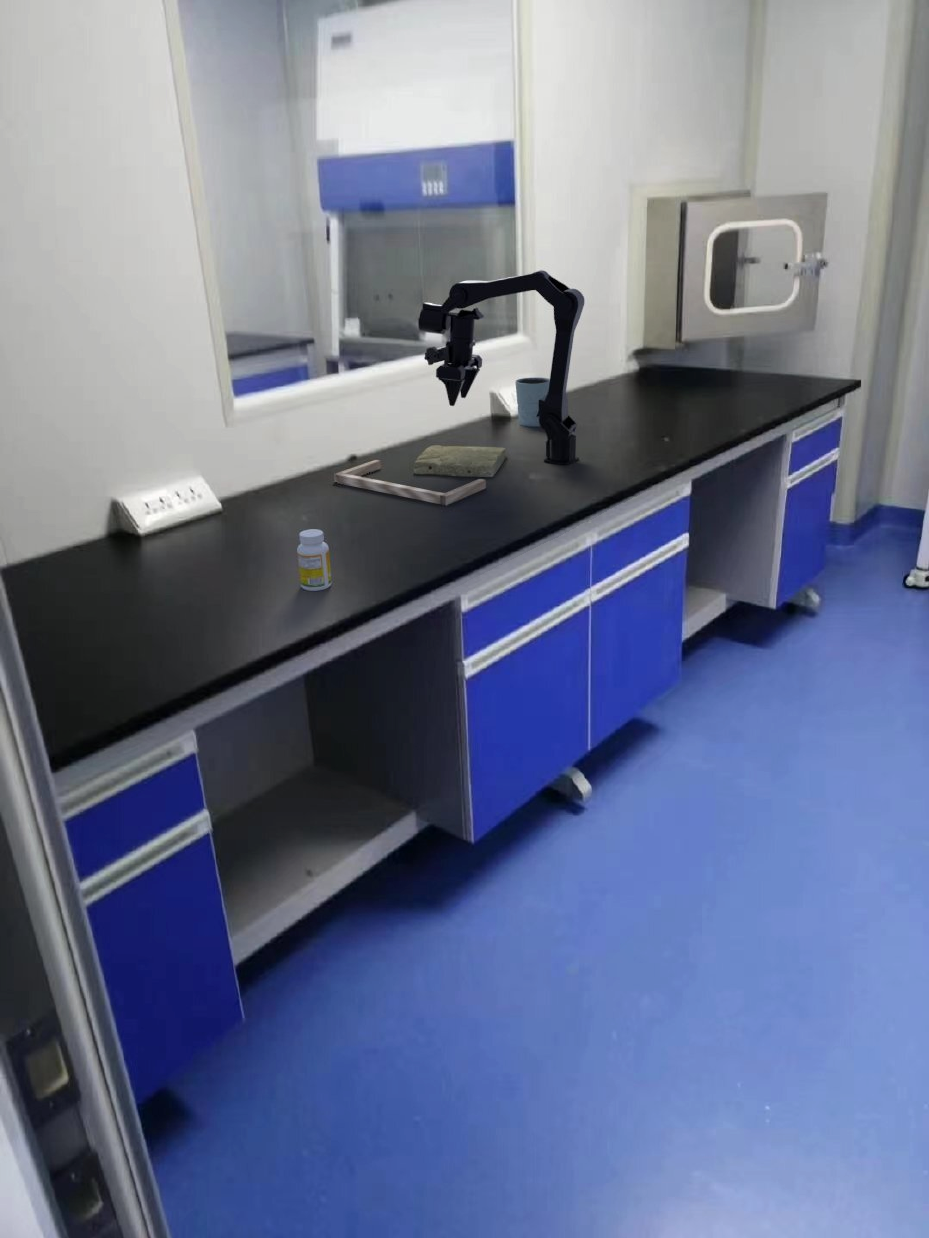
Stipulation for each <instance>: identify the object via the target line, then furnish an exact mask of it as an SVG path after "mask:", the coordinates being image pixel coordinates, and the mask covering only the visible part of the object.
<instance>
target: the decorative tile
mask: <svg viewBox="0 0 929 1238" xmlns="http://www.w3.org/2000/svg"><path fill="white" fill-rule="evenodd" d="M506 450H507V449H506V448H505V447H493V446H461V445H460V446H459V445H457V446H456V445H453V446H452V445H447V446H443V445H438V444H437V445H431V446H428V447H427V448H425V449H424V451H423V452H422V453H421V454H420V455H419V456H418V457H417V458H416V461H414V466H413V474H414V473H415V475H440V476H451V477H470V478H471V477H479V478H480V477H481V478H482V477H483V478H484V477H485V478H486V477H487V478H493V477H494V476H495V474H497V472H498V470H499V469H500V467H501V466H502V464H504V461H505V460H506V458H507V455H506V454H507V451H506Z"/></svg>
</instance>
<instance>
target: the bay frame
mask: <svg viewBox="0 0 929 1238" xmlns="http://www.w3.org/2000/svg"><path fill="white" fill-rule="evenodd" d="M381 464H382V463H381V460H378V459H375V460H371V461H368V462H366V463H362V464H359V465H356V466H354V467H351V468H348V469H344V470H342V471H339V472H336V473H334V474H333V477H334V478H333V479H334V483H335V482H337V483H336V484H340V485H345V486H351V487H355V488H360V489H364V490H365V489H366V490H370V491H374V492H379V493H384V494H389V495H394V496H399V497H404V498H409V499H412V500H413V499H414V500H418V501H424V502H427V503H433V504H438V505H442V506H448V505H450V504H454V503H455V502H458V501H460V500H462V499H464V498H467V497H470V496H472V495H475V494H476V493H478V492H481V491H483V490H485V489H487V488H486V485H487V484H486V483H487V482H486V479H482V478H478V479H476V480H473V481H471V482H468V483H466V484H464V485H461V486H459V487H456V488H455V489H452V490H449V491H446V492H439V491H434V490H429V489H425V488H419V487H414V486H411V485H410V486H409V485H405V484H399V483H395V482H390V481H385V480H384V481H383V480H380V479H373V478H368V477H365V476H364V475H367V473H368V474H370V473H373V472H376V471H379V470H381V469H382V466H381ZM369 472H370V473H369Z"/></svg>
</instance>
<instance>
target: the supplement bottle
mask: <svg viewBox="0 0 929 1238" xmlns="http://www.w3.org/2000/svg"><path fill="white" fill-rule="evenodd" d="M324 539H325V537H324V532H323V531H322V529H321V530H320V529H316V528H315V529H313V528H312V529H306V530H305V529H304V530H303V531H301V532H299V542H300V544H299V545H298V546H297V549H296V552H297V553H296V554H297V562H298V570H299V571H298V572H299V580H300V581H299V582H300V587H301V588H302V589H303V590H305V591H308V592H309V591H310V592H318V591H323V590H327V589H328V588H329V587H330V586H331V585H332V570H331V561H330V560H331V559H330V549H329V548H330V547H329V545H328V543H326V542H325V541H324Z"/></svg>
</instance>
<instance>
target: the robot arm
mask: <svg viewBox="0 0 929 1238" xmlns="http://www.w3.org/2000/svg"><path fill="white" fill-rule="evenodd" d="M530 291H536V292H537V293H538V294H539V295H540V296H541V297H542V298H543V299H544V300H545V301H546V302H547V303H548V304H549V305H551V306H552V307H553V321H554V326H555V338H554V343H553V344H554V346H553V353H552V361H551V368H550V375H549V379H550V382H549V389H548V393H547V395H544V396H543V397H542V398H541V399H539V411H538V414H537V416H536V417H539V424H540V426H539V427H541V429H543V430H544V431H545V434H546V437H547V440H545V458H544V459H543V462H545V463H550V464H558V465H563V466H567V465H569V464H571V463H573V462H575V461H577V460H579V459H580V457H579V456H577V455H576V454H577V452H576V451H577V442H576V441H577V435H574V433H575V432H576V430H577V427H578V423H577V422H576V420H574V419H573V418H572V417H571V415H569V402H568V395H567V387H568V378H569V373H570V366H571V359H572V358H571V357H572V351H573V345H574V337H575V331H576V329H577V326H578V324H579V321H580V319H581V316H582V313H583V309H584V306H585V297H584V295H583V294H582V292H581V291H580V290H578V289H576V288H570V287H568V286H567V285H566V284H564V283H563V282H561V281H559V280H558V279H556V278H555V277H553V276H551V274H549V272H547V271H545V270H543V269H541V270H537V271H535V272H532V273H525V274H521V275H515V276H510V277H504V278H499V279H496V280H495V279H494V280H478V279H477V280H473V279H472V280H469V279H468V280H464V281H460V282H457V283H454V284H453V285H452V286H451V287H450V289H449V293H448V297H447V298H446V300H445V301H444V302H443V303H442V304H435V303H432V302H427V301H426V302H423V303H422V308H421V310H420V313H419V317H418V321H417V322H418V323H417V325H418V329H419V332H421V333H422V332H423V333H430V334H437V335H444V334H445V333H446V332H448V331H449V339H448V340H447V341H446V342H445V345H443V346H439V347H436V346H431V347H428V348H426V350H425V352H424V358H423V359H424V360H425V361H427V364H428V366H432V365H434V364H436V363H440V362H443V363H442V364H440V365H439V366H437V368H436V370H435V377H436V378H437V379H438V381H441V382H442V383H443V385H444V386H445V391H446V395H447V398H448V399H447V400H448V403H449V404H448V405H449V406H451V407H454V406H455V405H456V403H457V400H458V397H459V395H460V398H462V399H466V398H467V396H468V393H469V391H470V389H471V387H472V386H473V383H474V382H475V380H476V377H477V376H478V374H479V372H480V368H482V367H483V358H482V357H481V356H480V354H474V353H473V351H474V347H475V346H476V342H477V341H476V340H474V335H475V334H474V333H475V320H477V321H478V320H481V319H483V318H484V317H485V316H484V314H483V313H482V312H481V311H480V310H479V308H478V307H475V308H473V309H472V310H471V309H465V308H468V307H471V306H473V305H476V304H478V303H481V302H484V301H486V300H488V299H494V298H498V297H499V298H500V297H503V296H504V297H505V296H509V295H514V294H520V293H526V292H530ZM457 309H458V310H459V309H460V310H459V311H458V312H454V310H457ZM452 311H453V312H452Z"/></svg>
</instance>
